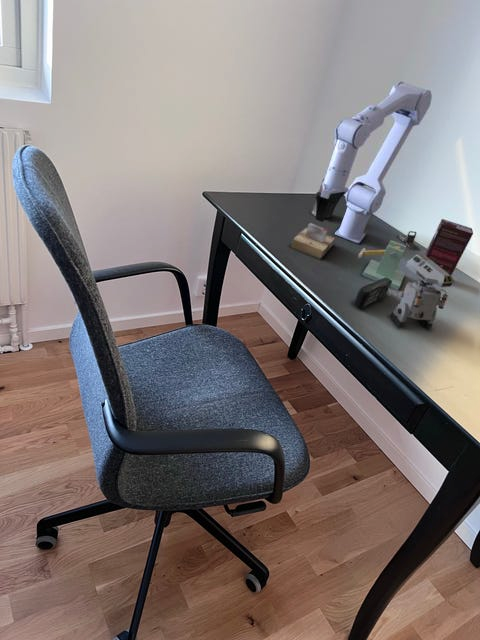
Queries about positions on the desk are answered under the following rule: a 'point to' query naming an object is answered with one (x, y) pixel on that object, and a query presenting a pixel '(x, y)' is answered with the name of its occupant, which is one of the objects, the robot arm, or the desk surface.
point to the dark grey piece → (372, 292)
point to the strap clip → (409, 239)
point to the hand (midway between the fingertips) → (323, 216)
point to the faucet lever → (373, 252)
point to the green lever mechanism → (387, 265)
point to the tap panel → (312, 244)
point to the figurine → (421, 292)
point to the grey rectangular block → (316, 232)
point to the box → (316, 203)
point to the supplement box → (448, 244)
